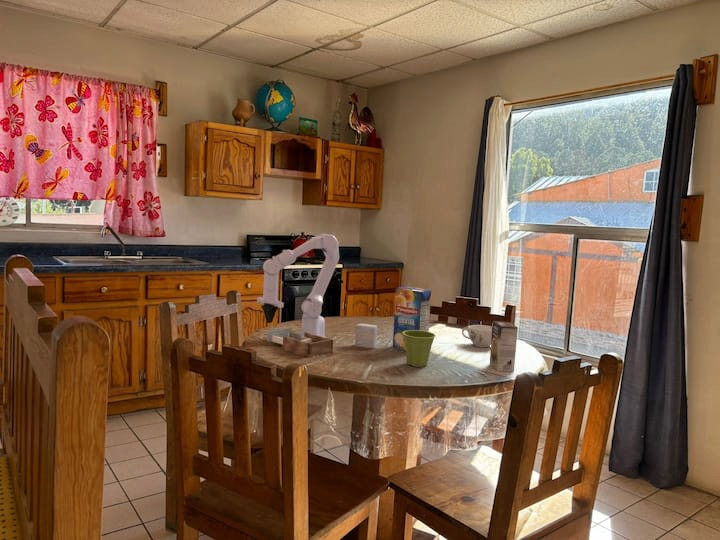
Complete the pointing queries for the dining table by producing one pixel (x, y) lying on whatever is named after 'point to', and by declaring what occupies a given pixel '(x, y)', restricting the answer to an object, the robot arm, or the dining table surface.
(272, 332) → the tray
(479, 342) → the teacup
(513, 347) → the coffee box
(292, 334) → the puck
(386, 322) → the dining table surface
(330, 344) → the shallow wooden crate
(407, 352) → the plant pot
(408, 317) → the juice carton
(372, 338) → the medicine box
